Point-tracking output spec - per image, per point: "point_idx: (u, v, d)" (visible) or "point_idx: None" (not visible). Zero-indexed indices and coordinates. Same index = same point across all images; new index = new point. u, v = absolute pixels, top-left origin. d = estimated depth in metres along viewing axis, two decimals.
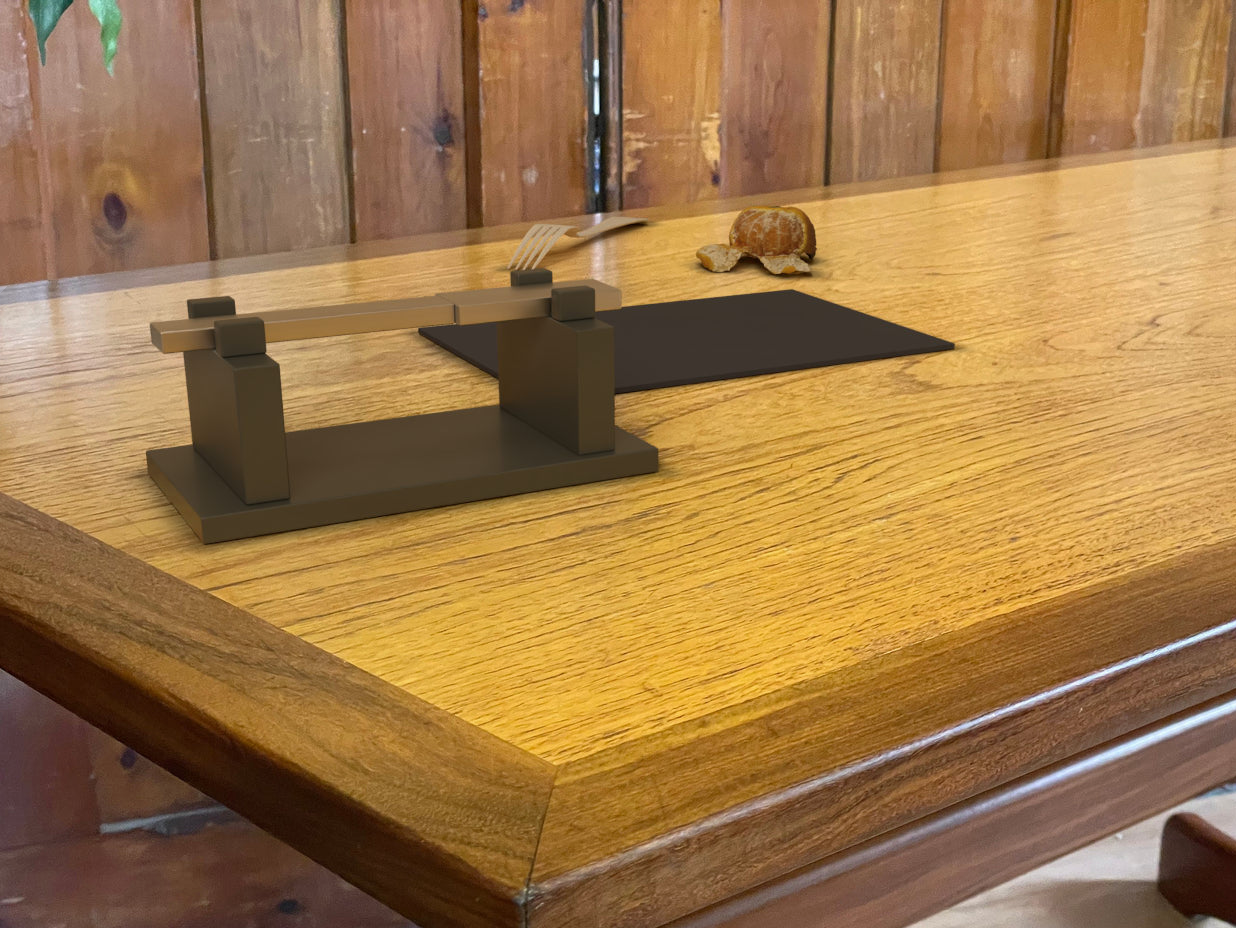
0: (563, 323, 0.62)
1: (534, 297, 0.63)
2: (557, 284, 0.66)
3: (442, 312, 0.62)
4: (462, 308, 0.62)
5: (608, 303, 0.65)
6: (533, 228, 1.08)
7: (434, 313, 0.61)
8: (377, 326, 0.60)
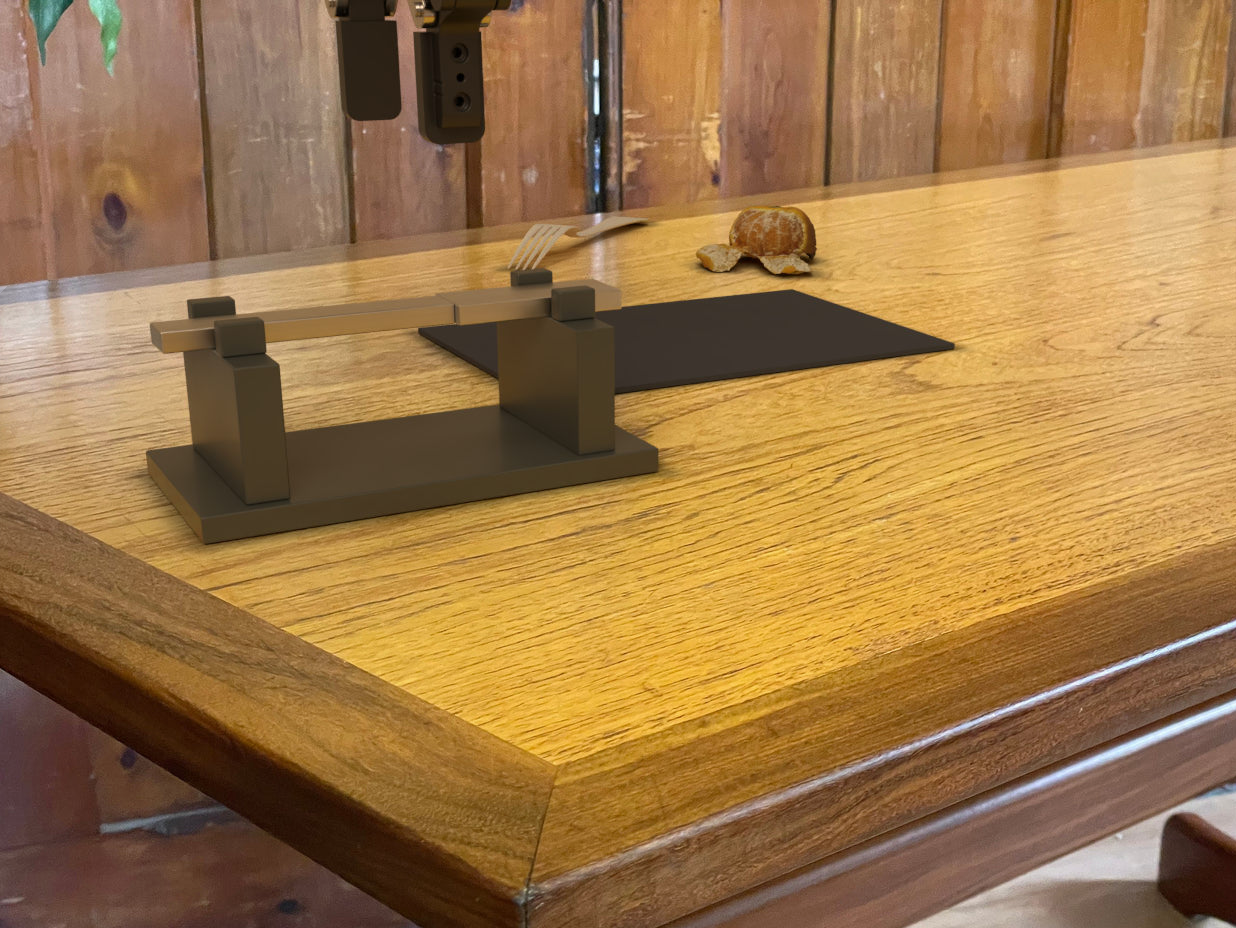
0: (563, 323, 0.62)
1: (534, 297, 0.63)
2: (557, 284, 0.66)
3: (442, 312, 0.62)
4: (462, 308, 0.62)
5: (608, 303, 0.65)
6: (533, 228, 1.08)
7: (434, 313, 0.61)
8: (377, 326, 0.60)
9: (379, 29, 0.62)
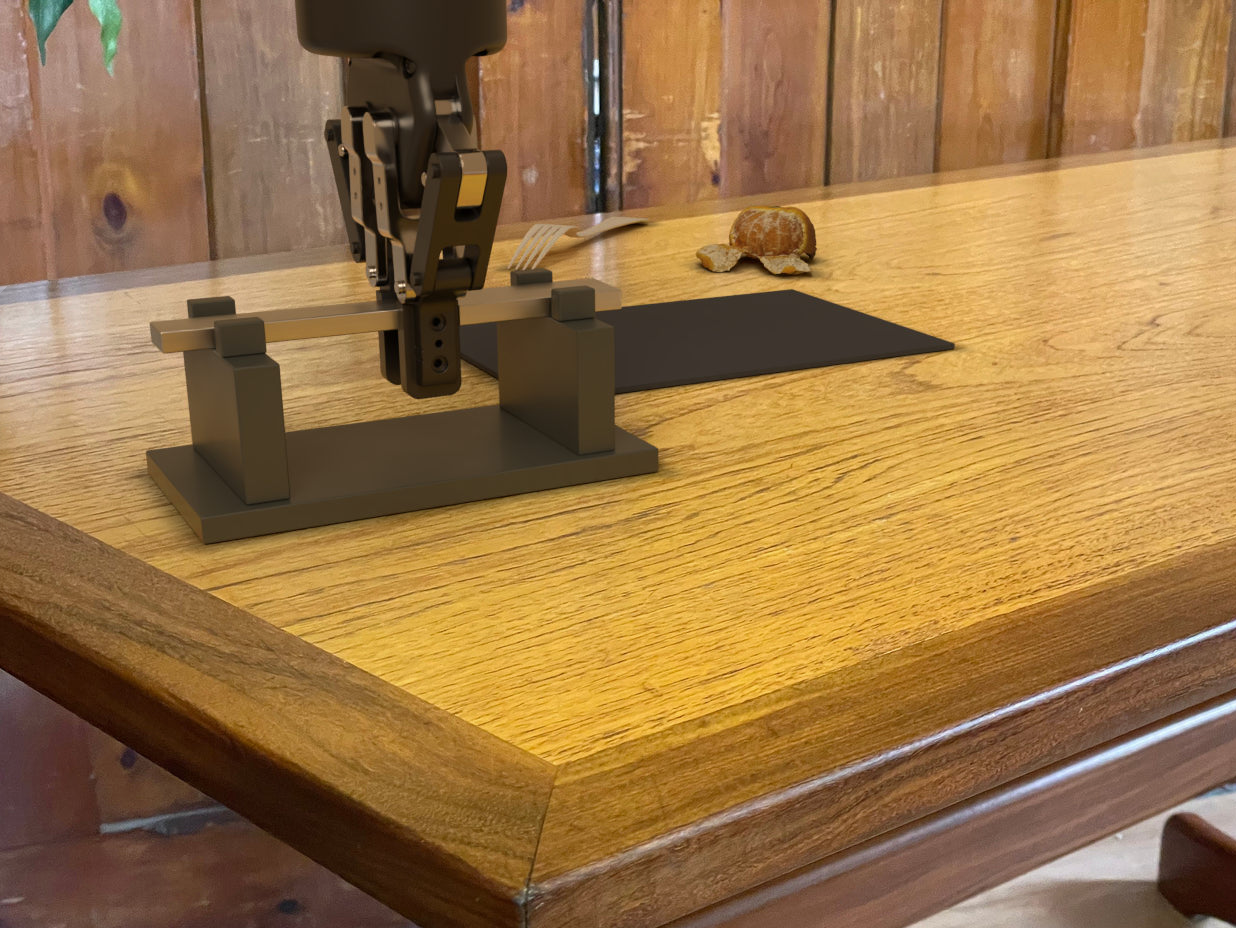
0: (563, 323, 0.62)
1: (534, 297, 0.63)
2: (557, 283, 0.66)
3: None
4: (462, 308, 0.62)
5: (608, 303, 0.65)
6: (533, 228, 1.08)
7: None
8: (377, 326, 0.60)
9: None
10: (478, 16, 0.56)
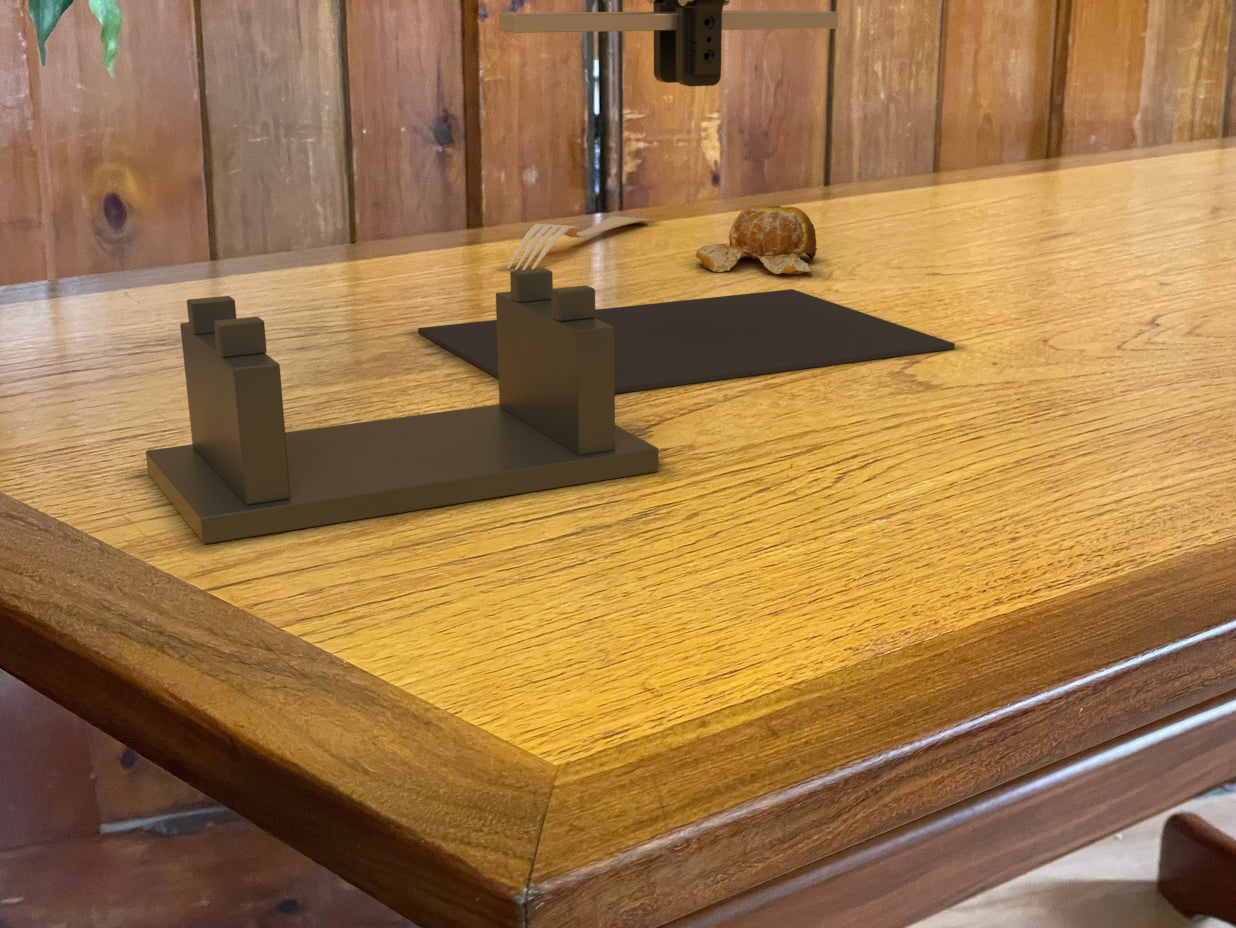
0: (563, 323, 0.62)
1: (775, 12, 0.81)
2: (786, 10, 0.84)
3: None
4: (724, 16, 0.80)
5: (828, 22, 0.83)
6: (533, 228, 1.08)
7: None
8: (662, 25, 0.79)
9: None
10: None
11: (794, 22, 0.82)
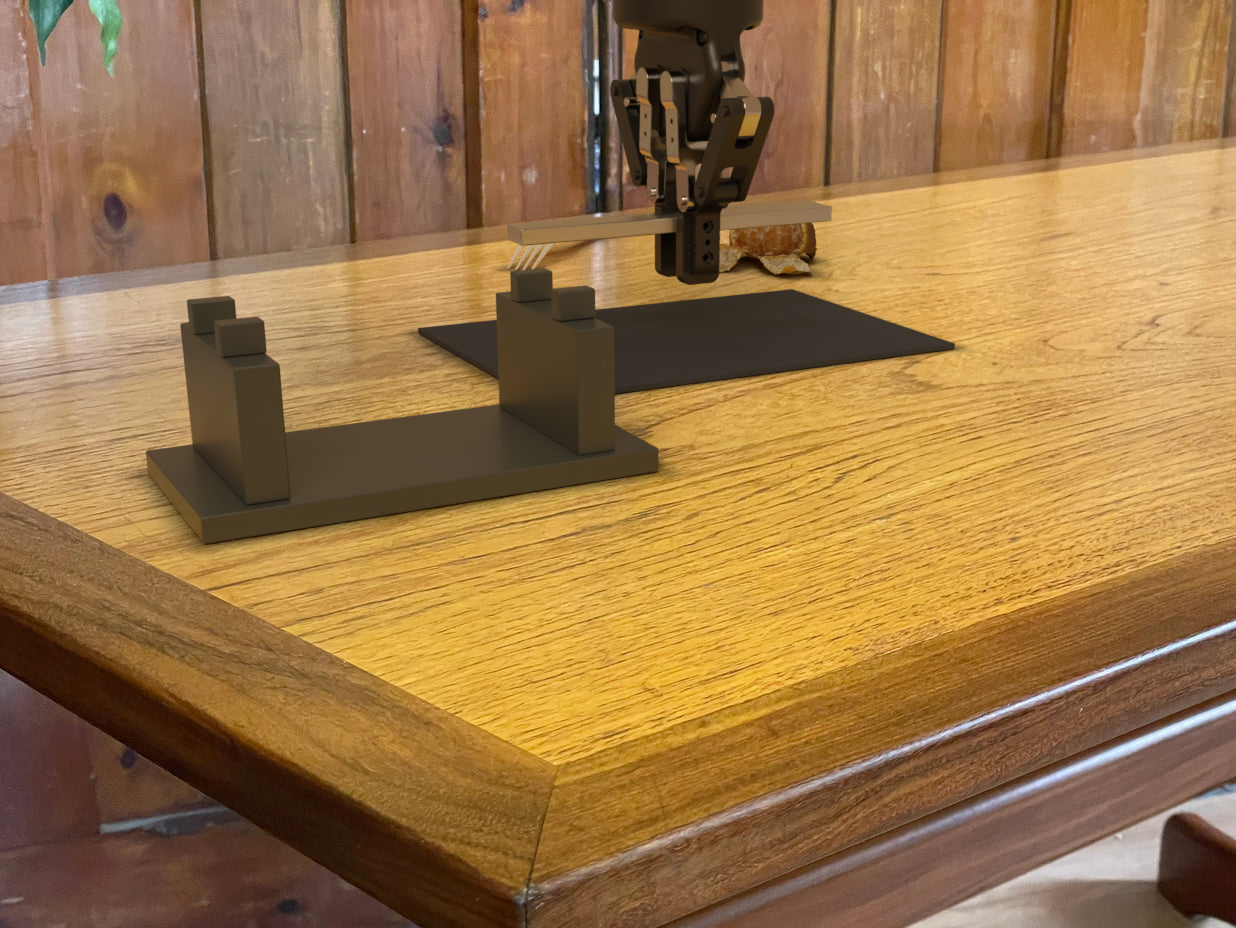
0: (563, 323, 0.62)
1: (771, 210, 0.85)
2: (782, 202, 0.87)
3: None
4: (722, 217, 0.83)
5: (822, 216, 0.86)
6: None
7: None
8: (663, 229, 0.82)
9: None
10: (750, 1, 0.78)
11: (789, 218, 0.85)
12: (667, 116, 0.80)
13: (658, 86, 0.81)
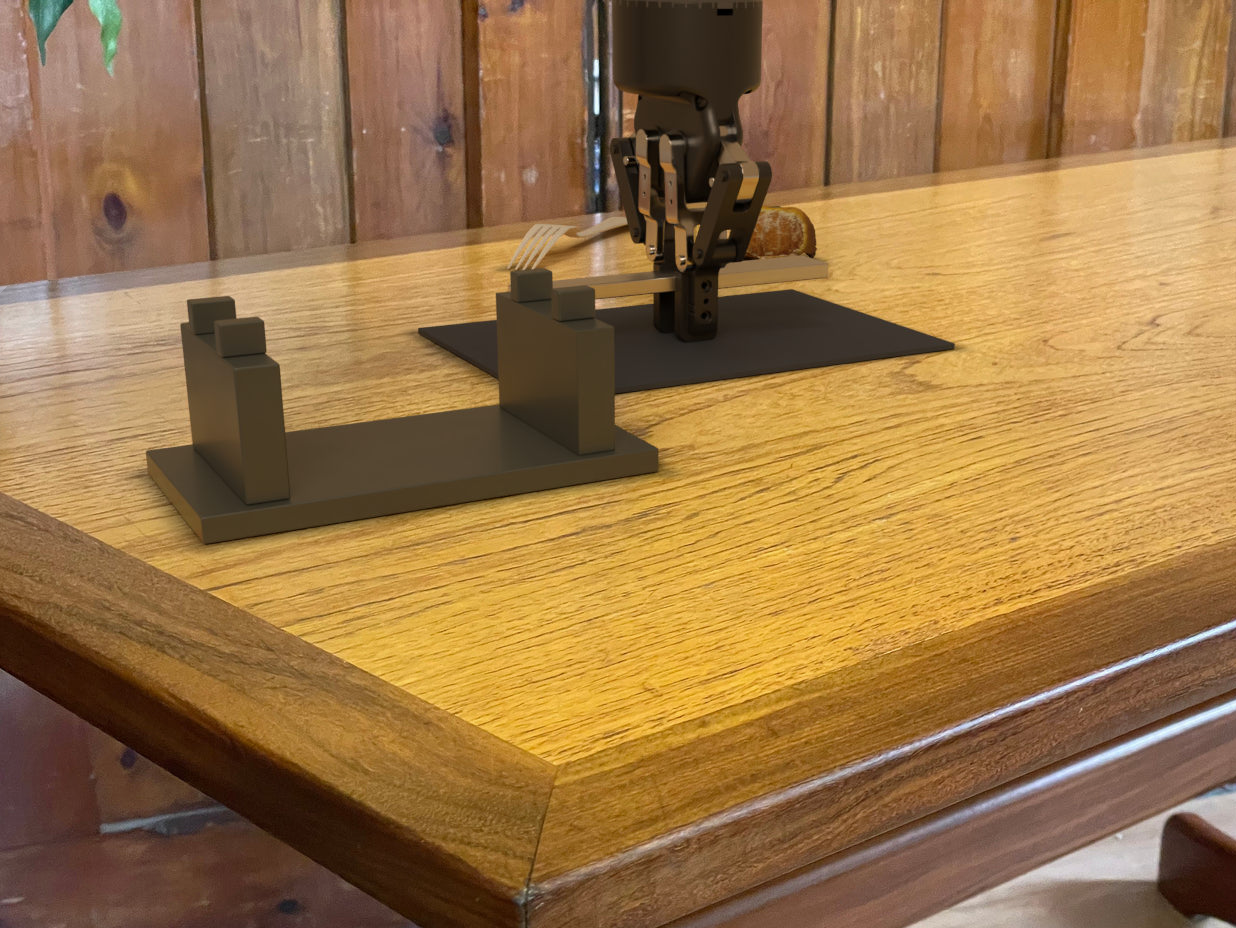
0: (563, 323, 0.62)
1: (768, 268, 0.86)
2: (779, 259, 0.88)
3: None
4: (720, 276, 0.84)
5: (819, 273, 0.87)
6: (533, 228, 1.08)
7: None
8: (662, 288, 0.83)
9: None
10: (748, 66, 0.79)
11: (786, 276, 0.86)
12: (666, 178, 0.81)
13: (657, 147, 0.82)
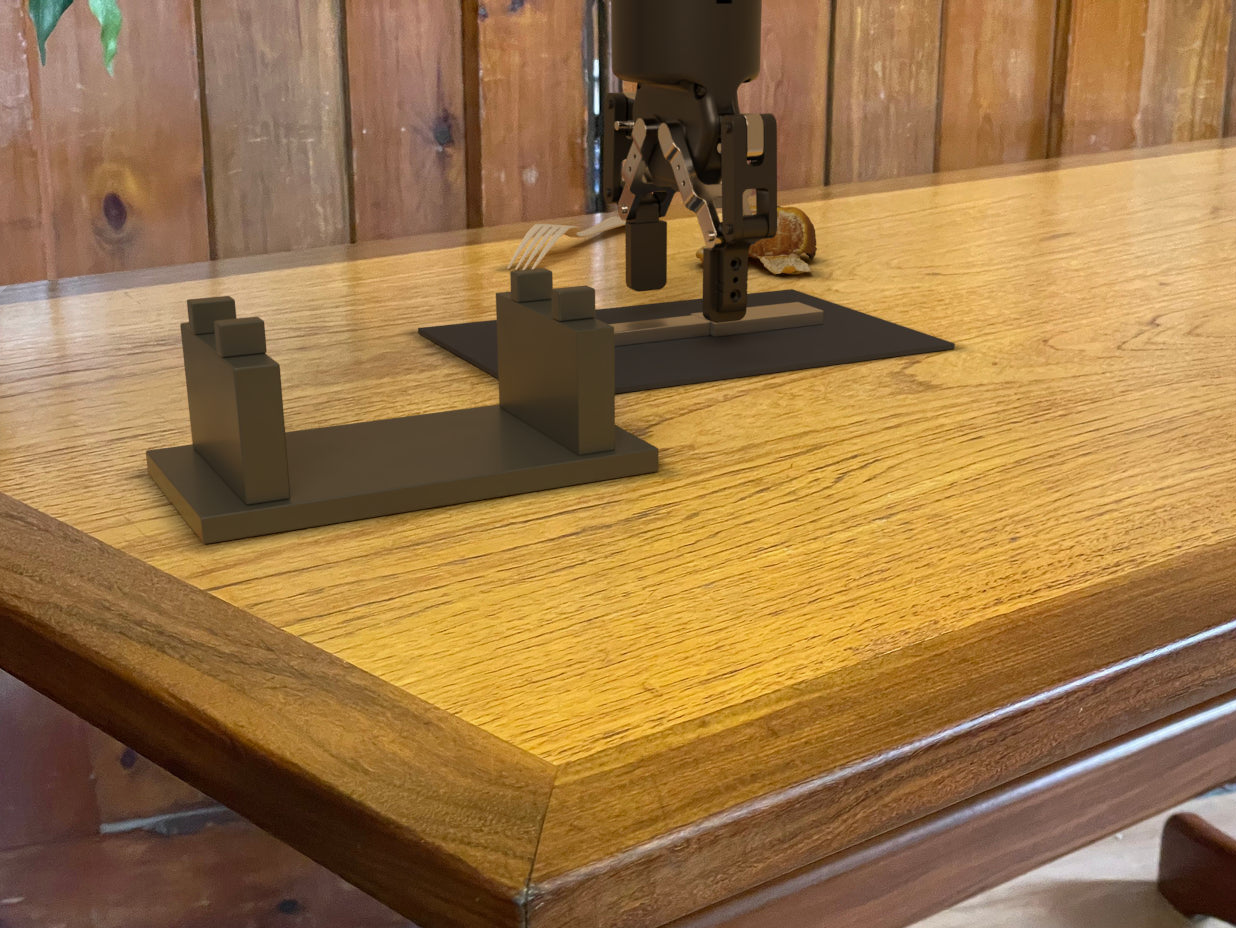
0: (563, 323, 0.62)
1: (764, 316, 0.87)
2: (775, 306, 0.89)
3: (702, 327, 0.85)
4: (716, 324, 0.85)
5: (814, 320, 0.89)
6: (533, 228, 1.08)
7: (696, 328, 0.85)
8: (658, 337, 0.84)
9: (655, 228, 0.88)
10: (747, 55, 0.79)
11: (782, 323, 0.87)
12: (674, 167, 0.80)
13: (656, 136, 0.82)
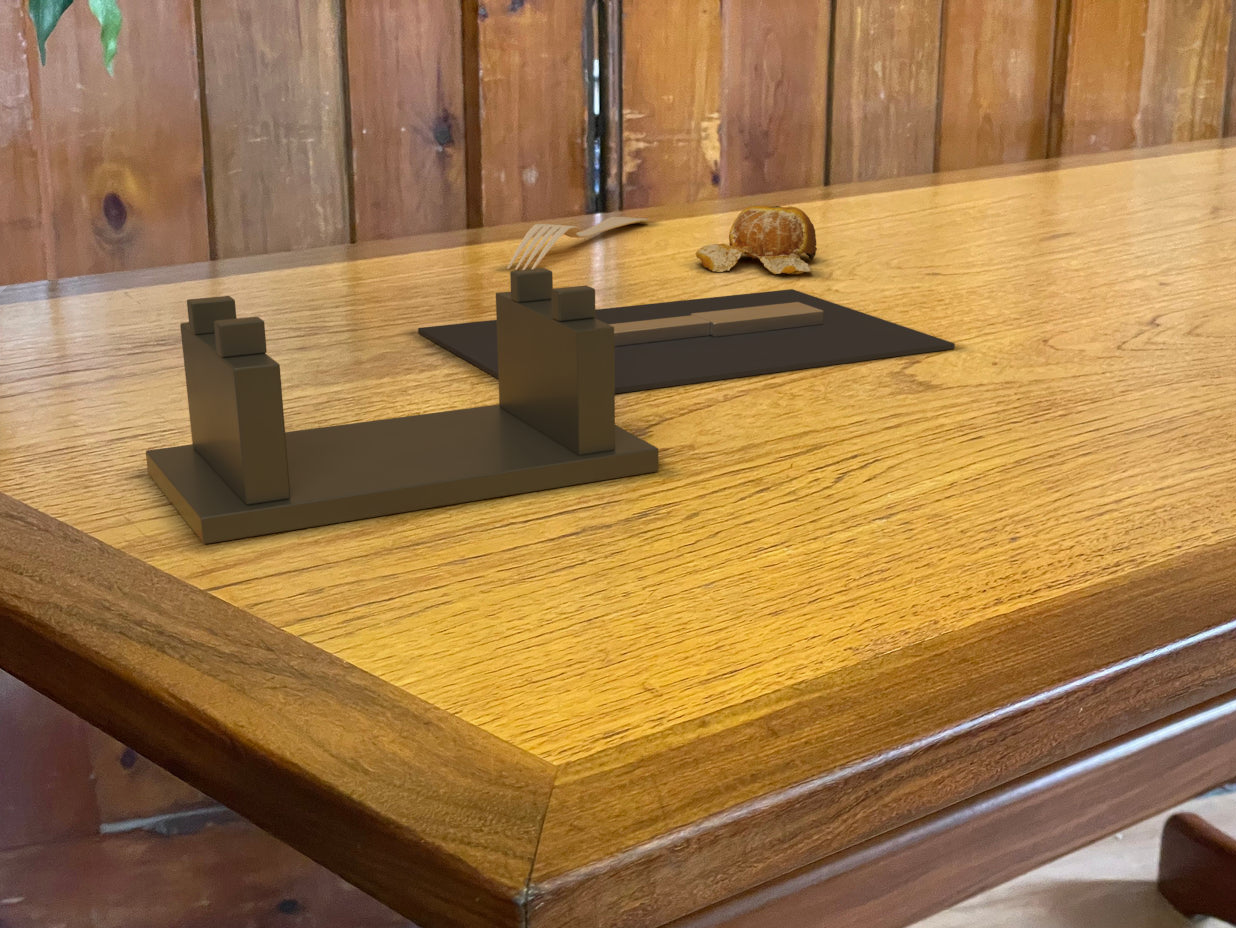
0: (563, 323, 0.62)
1: (764, 316, 0.87)
2: (775, 306, 0.89)
3: (702, 327, 0.85)
4: (716, 324, 0.85)
5: (814, 320, 0.89)
6: (533, 228, 1.08)
7: (696, 328, 0.85)
8: (658, 337, 0.84)
9: None
10: None
11: (782, 323, 0.87)
12: None
13: None
